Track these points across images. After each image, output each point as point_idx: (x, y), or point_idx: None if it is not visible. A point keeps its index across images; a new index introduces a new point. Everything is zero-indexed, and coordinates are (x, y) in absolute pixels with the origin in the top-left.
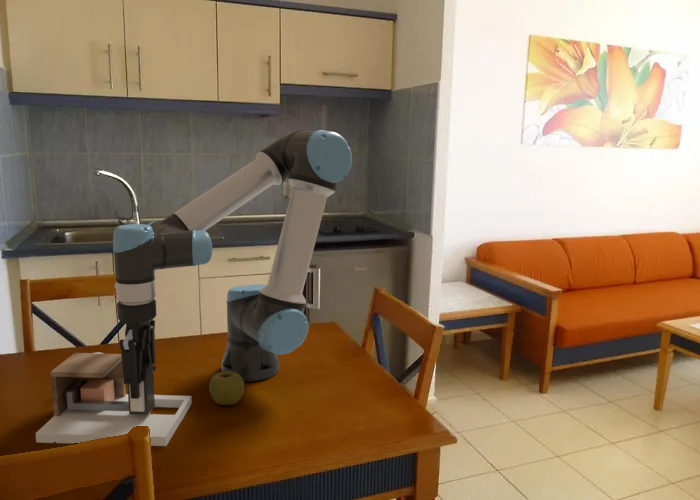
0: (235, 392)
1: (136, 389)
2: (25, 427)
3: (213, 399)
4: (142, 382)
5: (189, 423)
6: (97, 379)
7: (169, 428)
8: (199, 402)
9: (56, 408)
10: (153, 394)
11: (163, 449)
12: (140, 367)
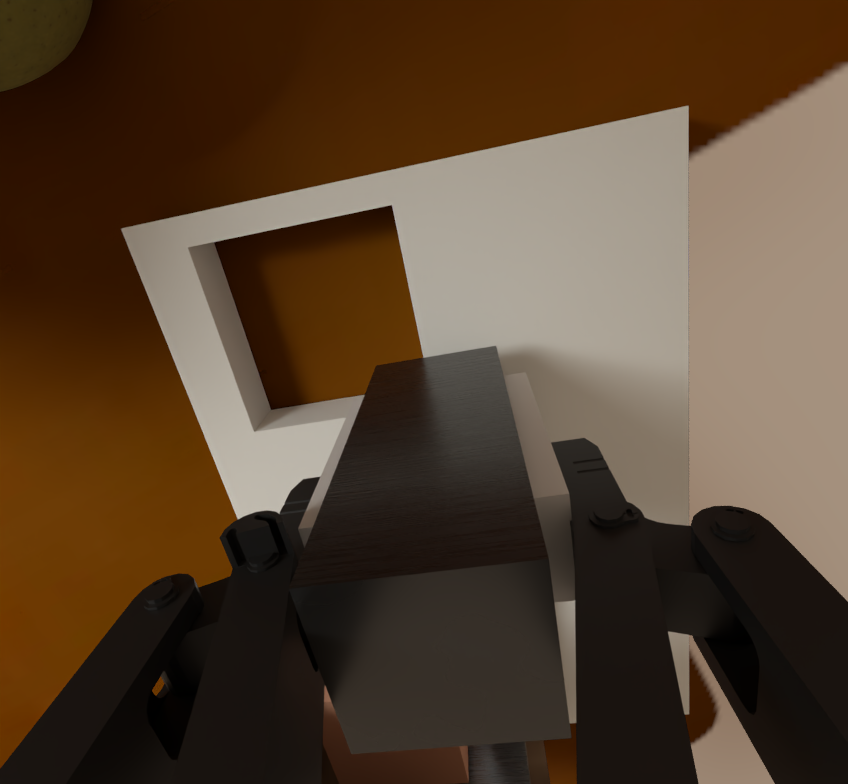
0: None
1: (618, 489)
2: (570, 752)
3: (79, 37)
4: (555, 493)
5: (372, 107)
6: (339, 764)
7: (573, 142)
8: (113, 183)
9: (545, 754)
10: (379, 398)
11: (698, 110)
12: (627, 647)
